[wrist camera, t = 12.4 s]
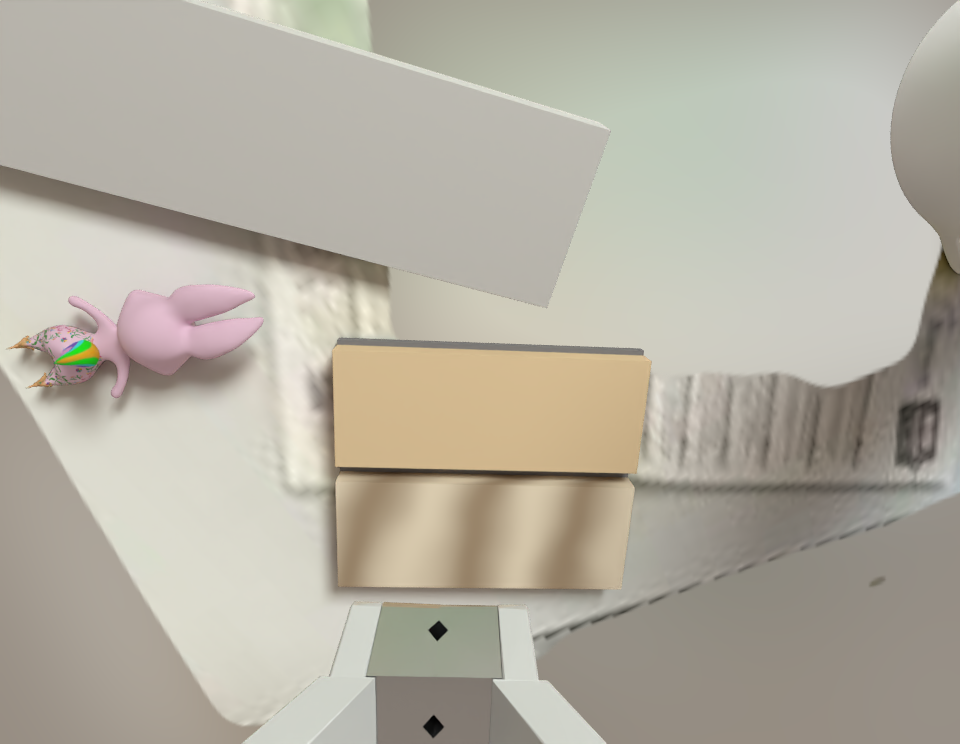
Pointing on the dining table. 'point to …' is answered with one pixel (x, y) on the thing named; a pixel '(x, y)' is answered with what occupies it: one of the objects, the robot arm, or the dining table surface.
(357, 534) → the ash plank
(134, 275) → the dining table surface
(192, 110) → the decorative molding
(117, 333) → the rabbit figure
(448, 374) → the laid floor
